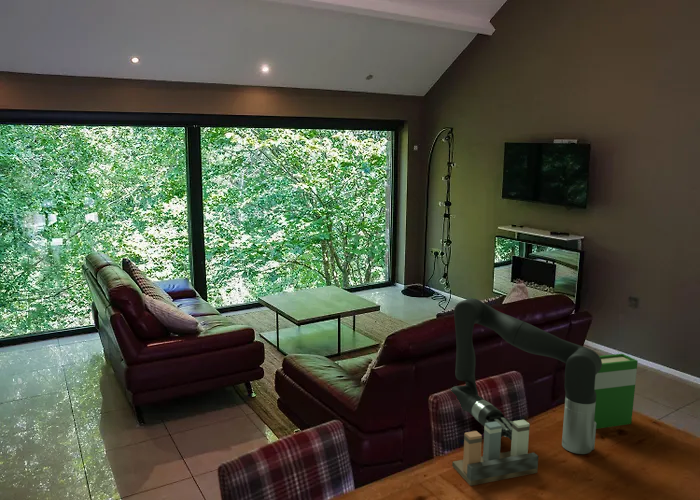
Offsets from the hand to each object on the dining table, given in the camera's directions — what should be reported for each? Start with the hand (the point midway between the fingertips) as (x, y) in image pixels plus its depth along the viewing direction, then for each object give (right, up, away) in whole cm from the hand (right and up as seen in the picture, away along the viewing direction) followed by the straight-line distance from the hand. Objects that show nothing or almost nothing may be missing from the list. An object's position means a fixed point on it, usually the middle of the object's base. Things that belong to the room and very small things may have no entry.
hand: (517, 439), depth 174 cm
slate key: (-9, -6, -2) cm, 11 cm away
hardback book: (+40, -4, +28) cm, 49 cm away
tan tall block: (-16, -7, -8) cm, 19 cm away
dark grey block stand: (-8, -8, -3) cm, 12 cm away
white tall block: (0, -6, 0) cm, 6 cm away
